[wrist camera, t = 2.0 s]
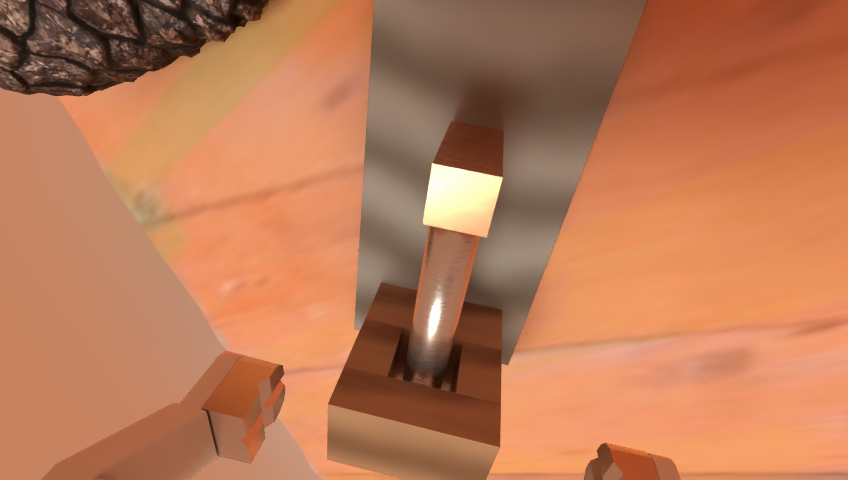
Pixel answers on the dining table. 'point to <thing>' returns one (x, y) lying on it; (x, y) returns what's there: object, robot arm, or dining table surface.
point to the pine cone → (106, 39)
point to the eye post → (511, 222)
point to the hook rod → (452, 242)
